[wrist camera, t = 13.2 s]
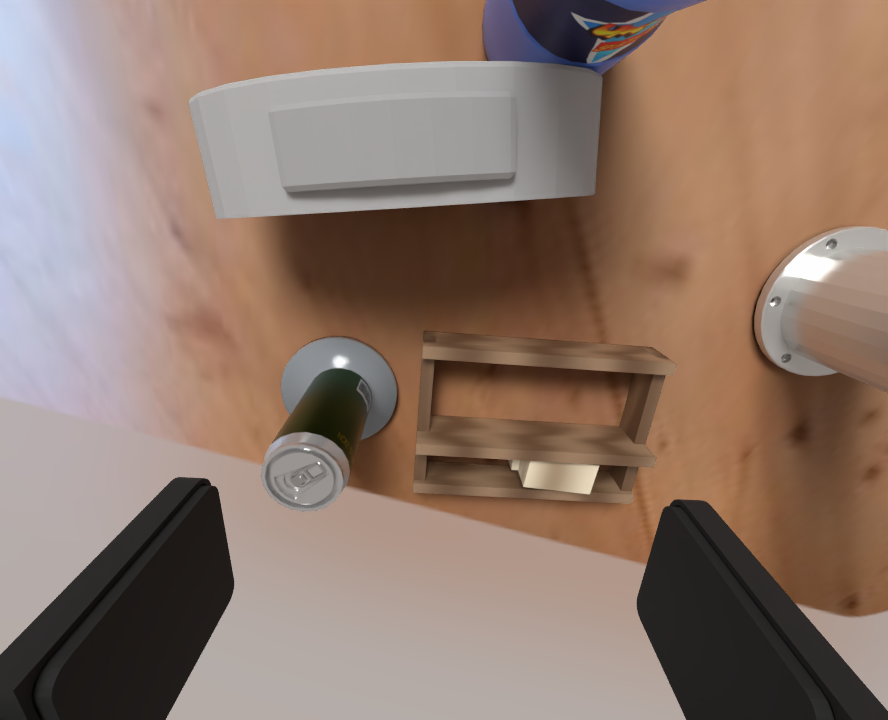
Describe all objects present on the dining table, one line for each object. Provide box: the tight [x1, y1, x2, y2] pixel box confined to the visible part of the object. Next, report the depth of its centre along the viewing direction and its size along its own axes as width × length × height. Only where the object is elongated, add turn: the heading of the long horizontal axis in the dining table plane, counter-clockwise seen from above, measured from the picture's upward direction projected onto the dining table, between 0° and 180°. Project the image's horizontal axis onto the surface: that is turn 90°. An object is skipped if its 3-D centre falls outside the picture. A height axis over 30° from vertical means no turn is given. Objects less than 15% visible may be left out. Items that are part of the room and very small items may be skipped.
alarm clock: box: [189, 61, 603, 219], centre depth 25 cm, size 23×6×13 cm, turn 93°
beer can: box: [261, 368, 372, 512], centre depth 31 cm, size 5×5×12 cm
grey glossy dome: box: [281, 336, 397, 440], centre depth 37 cm, size 10×10×1 cm
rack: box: [413, 331, 677, 504], centre depth 36 cm, size 20×14×5 cm
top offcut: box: [518, 460, 599, 494], centre depth 37 cm, size 6×3×2 cm, turn 81°
